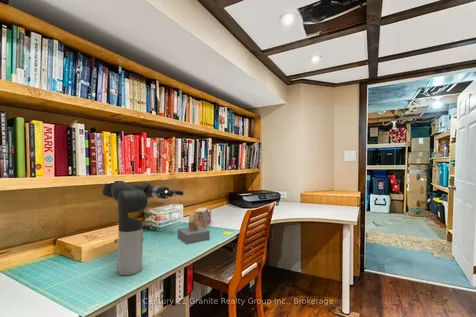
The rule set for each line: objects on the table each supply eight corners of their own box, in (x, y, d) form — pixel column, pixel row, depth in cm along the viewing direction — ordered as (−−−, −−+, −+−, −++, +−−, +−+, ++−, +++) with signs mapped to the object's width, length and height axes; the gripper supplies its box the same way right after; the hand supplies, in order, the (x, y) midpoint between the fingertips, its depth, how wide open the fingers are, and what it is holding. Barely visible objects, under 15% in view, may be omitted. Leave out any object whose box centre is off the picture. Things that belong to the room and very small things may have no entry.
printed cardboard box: (202, 221, 184) (202, 205, 184) (211, 222, 183) (211, 205, 183) (194, 229, 162) (194, 211, 162) (203, 230, 162) (203, 211, 162)
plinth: (186, 244, 134) (186, 235, 134) (177, 237, 146) (177, 229, 146) (209, 239, 142) (209, 230, 142) (199, 233, 154) (199, 225, 154)
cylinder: (190, 231, 140) (191, 214, 141) (187, 229, 145) (187, 212, 145) (198, 230, 143) (199, 213, 143) (195, 228, 147) (195, 211, 148)
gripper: (151, 187, 151) (167, 188, 142) (169, 185, 163) (186, 186, 153) (150, 199, 151) (167, 201, 141) (169, 197, 163) (186, 199, 153)
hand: (177, 194), depth 147 cm, fingers open, 8 cm apart
